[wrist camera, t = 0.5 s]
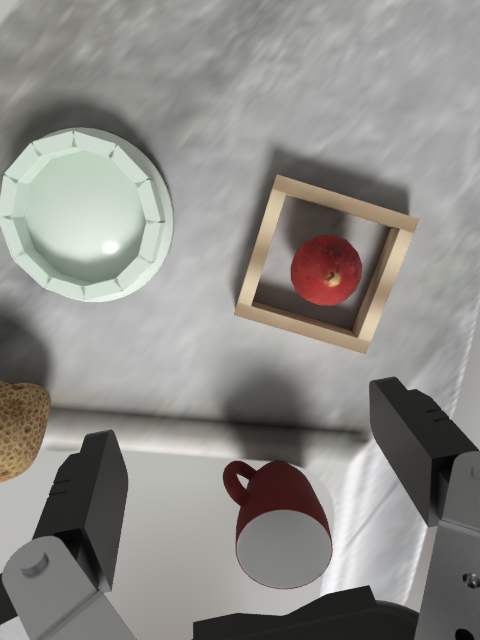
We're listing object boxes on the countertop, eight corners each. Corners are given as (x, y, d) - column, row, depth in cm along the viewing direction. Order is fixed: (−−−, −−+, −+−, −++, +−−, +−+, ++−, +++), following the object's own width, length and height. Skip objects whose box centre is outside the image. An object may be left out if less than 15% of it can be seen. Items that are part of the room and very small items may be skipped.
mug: (204, 476, 46) (191, 549, 36) (244, 417, 44) (241, 477, 34) (289, 522, 47) (298, 604, 37) (331, 466, 45) (352, 538, 35)
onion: (301, 223, 39) (313, 227, 31) (361, 245, 39) (387, 254, 31) (278, 283, 40) (284, 302, 33) (336, 304, 41) (355, 327, 33)
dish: (24, 106, 37) (4, 98, 34) (192, 159, 38) (187, 155, 35) (-2, 273, 41) (-22, 278, 38) (152, 318, 42) (144, 327, 39)
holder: (275, 176, 38) (276, 174, 35) (408, 218, 38) (419, 219, 36) (235, 308, 41) (234, 314, 39) (359, 345, 42) (365, 354, 39)
